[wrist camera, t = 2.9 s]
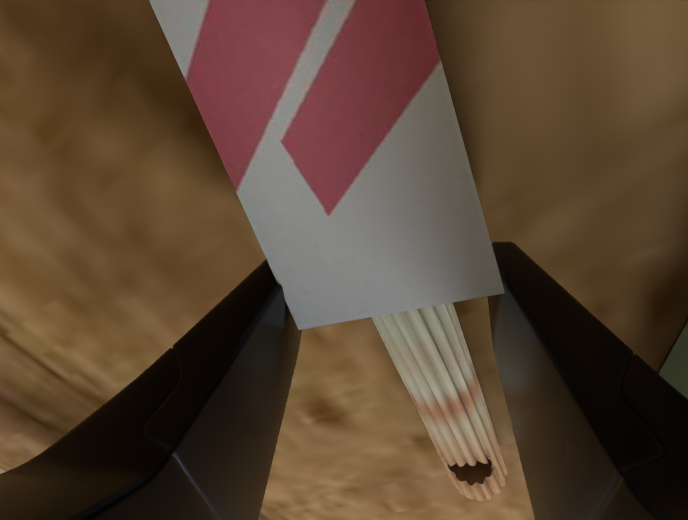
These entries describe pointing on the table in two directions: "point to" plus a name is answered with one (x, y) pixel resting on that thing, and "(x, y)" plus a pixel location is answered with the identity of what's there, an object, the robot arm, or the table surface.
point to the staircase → (678, 364)
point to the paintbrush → (355, 185)
